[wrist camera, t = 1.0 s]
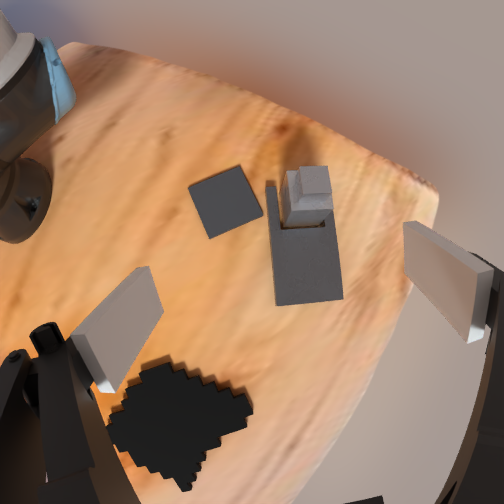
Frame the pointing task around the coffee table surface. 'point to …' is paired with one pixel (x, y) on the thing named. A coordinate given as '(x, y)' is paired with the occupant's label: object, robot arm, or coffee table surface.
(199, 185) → the pad
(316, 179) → the stepped metal tower
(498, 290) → the robot arm
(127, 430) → the decorative item
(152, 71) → the coffee table surface
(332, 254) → the slotted plate
